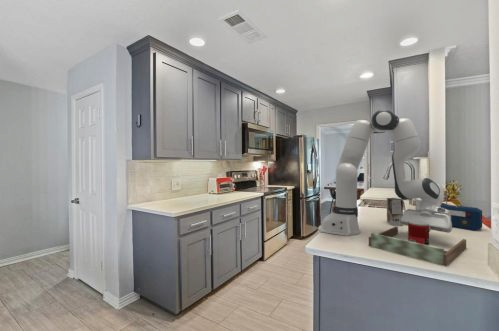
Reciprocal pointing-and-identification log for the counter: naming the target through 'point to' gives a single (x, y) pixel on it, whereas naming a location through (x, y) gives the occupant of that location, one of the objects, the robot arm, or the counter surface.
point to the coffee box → (394, 211)
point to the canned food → (418, 232)
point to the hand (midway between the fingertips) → (421, 234)
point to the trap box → (415, 248)
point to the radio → (464, 216)
